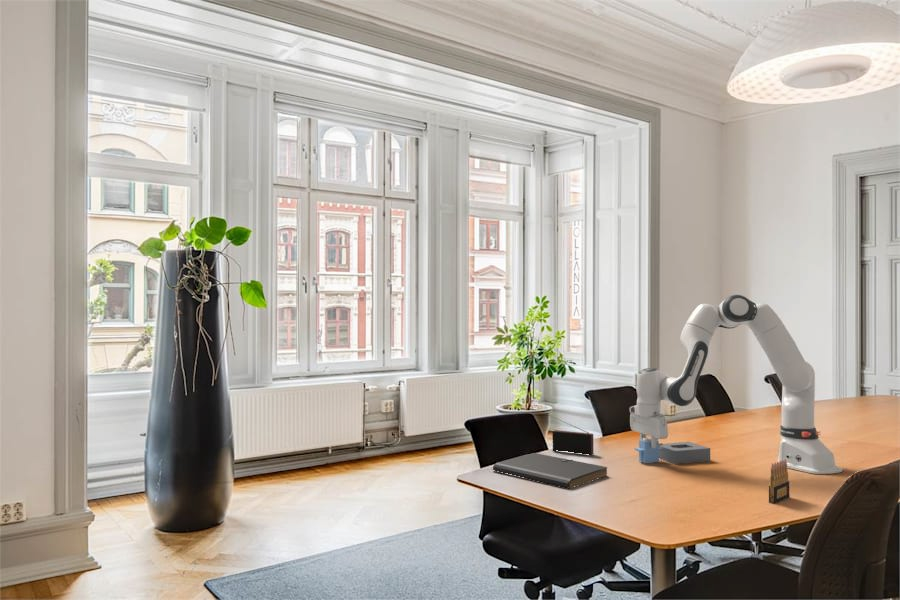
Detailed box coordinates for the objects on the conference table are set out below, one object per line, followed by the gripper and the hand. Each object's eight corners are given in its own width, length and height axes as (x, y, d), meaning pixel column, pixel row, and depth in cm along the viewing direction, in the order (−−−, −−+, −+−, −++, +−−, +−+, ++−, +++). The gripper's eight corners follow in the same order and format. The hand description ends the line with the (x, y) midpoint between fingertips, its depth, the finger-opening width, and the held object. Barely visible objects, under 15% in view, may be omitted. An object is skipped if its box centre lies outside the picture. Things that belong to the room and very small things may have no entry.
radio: (593, 454, 270) (593, 417, 270) (591, 456, 267) (591, 418, 267) (550, 449, 279) (550, 414, 279) (548, 451, 276) (547, 415, 277)
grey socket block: (710, 461, 257) (710, 448, 257) (674, 464, 252) (674, 451, 252) (688, 454, 269) (688, 441, 269) (654, 456, 265) (654, 444, 265)
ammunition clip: (783, 496, 210) (783, 458, 210) (789, 497, 208) (789, 459, 208) (768, 502, 203) (768, 463, 203) (774, 504, 201) (774, 464, 201)
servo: (667, 461, 256) (667, 438, 256) (640, 464, 253) (640, 440, 253) (661, 459, 260) (660, 436, 260) (634, 461, 257) (634, 438, 257)
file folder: (607, 466, 235) (567, 479, 219) (608, 477, 235) (567, 492, 219) (534, 451, 259) (492, 463, 242) (534, 462, 259) (492, 474, 242)
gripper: (672, 414, 247) (672, 451, 247) (640, 406, 267) (641, 440, 267) (657, 415, 246) (657, 452, 246) (627, 407, 265) (627, 441, 265)
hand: (648, 446), depth 256 cm, fingers closed on servo, 4 cm apart
